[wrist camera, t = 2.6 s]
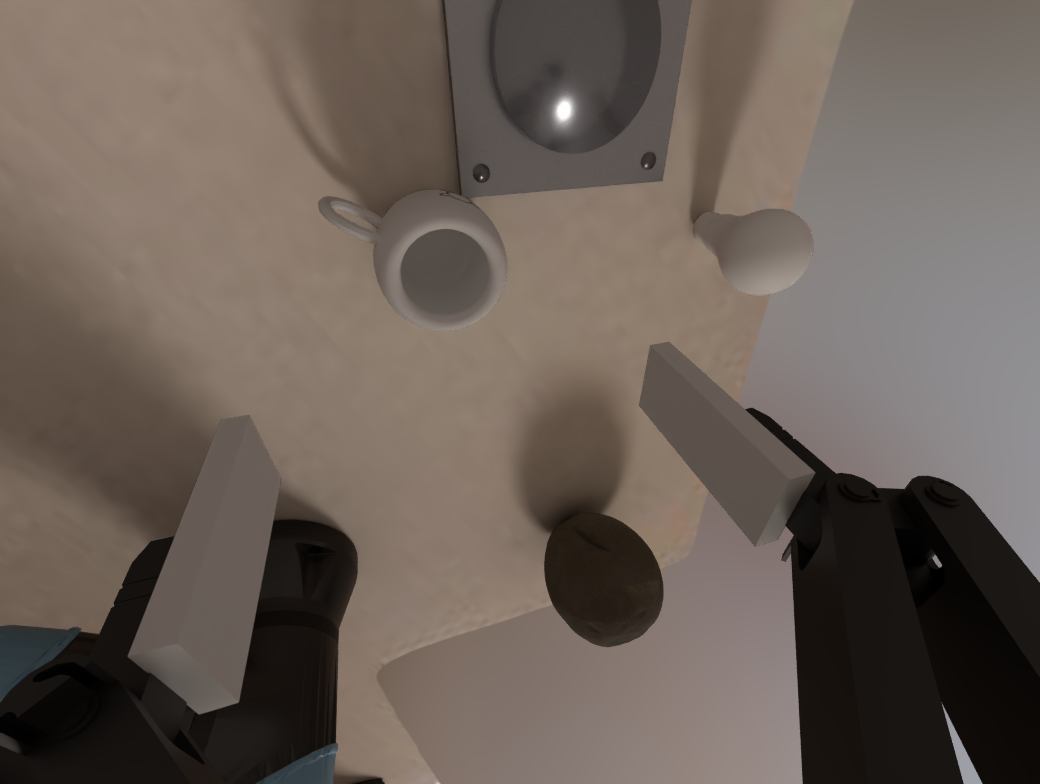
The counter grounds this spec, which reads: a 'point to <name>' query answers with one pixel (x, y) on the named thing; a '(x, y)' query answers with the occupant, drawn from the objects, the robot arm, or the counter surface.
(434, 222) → the mug
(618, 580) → the coconut
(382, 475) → the counter surface
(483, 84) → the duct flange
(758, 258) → the lightbulb
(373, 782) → the coffee jar
